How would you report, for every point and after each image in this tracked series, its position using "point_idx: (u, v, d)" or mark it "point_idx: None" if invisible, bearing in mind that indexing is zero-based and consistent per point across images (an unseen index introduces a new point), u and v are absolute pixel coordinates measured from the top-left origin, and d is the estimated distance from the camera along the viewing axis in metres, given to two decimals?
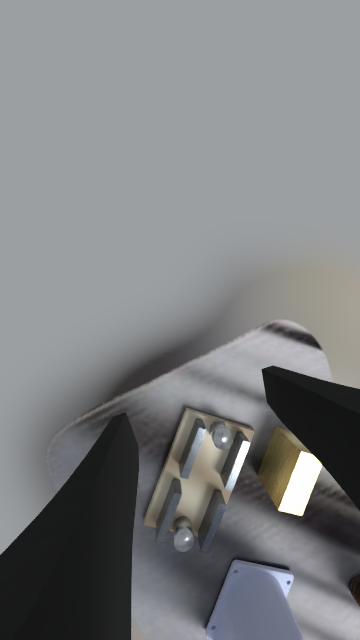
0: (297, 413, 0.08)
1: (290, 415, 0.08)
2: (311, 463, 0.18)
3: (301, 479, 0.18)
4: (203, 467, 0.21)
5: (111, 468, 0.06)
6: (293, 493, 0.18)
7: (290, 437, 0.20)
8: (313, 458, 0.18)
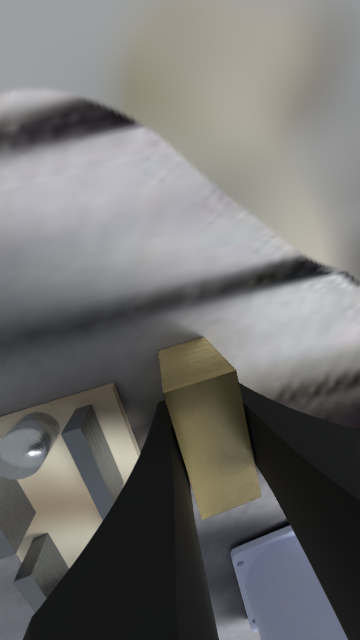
0: None
1: None
2: (210, 400, 0.07)
3: (210, 443, 0.07)
4: (69, 494, 0.10)
5: (175, 446, 0.07)
6: (212, 476, 0.07)
7: (173, 359, 0.09)
8: (206, 387, 0.07)
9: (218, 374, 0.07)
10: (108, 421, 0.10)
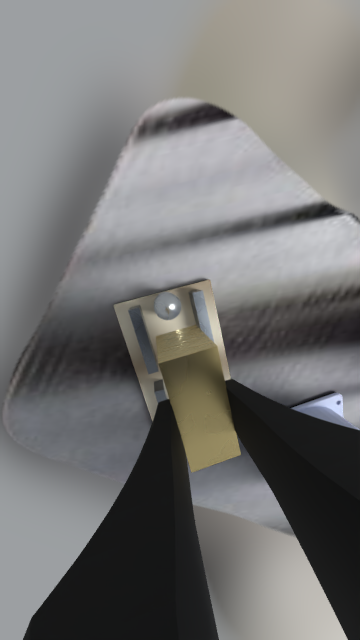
0: (247, 431, 0.08)
1: (243, 432, 0.08)
2: (196, 370, 0.08)
3: (197, 407, 0.09)
4: None
5: (174, 446, 0.07)
6: (199, 435, 0.09)
7: (168, 341, 0.10)
8: (193, 360, 0.08)
9: (203, 349, 0.08)
10: (205, 302, 0.16)
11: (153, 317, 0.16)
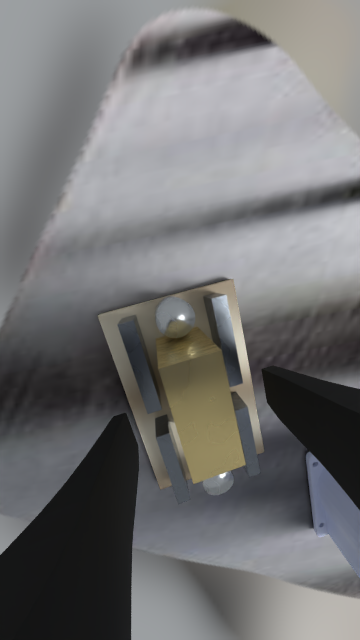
0: (297, 413, 0.08)
1: (290, 415, 0.08)
2: (199, 376, 0.08)
3: (199, 414, 0.08)
4: None
5: (111, 468, 0.06)
6: (201, 445, 0.08)
7: (169, 344, 0.10)
8: (196, 365, 0.08)
9: (206, 353, 0.08)
10: None
11: (154, 331, 0.11)
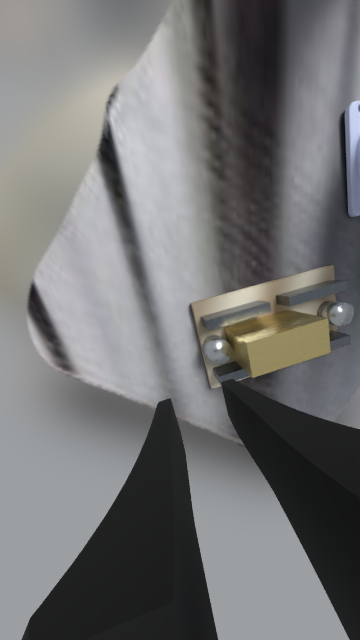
0: (247, 430, 0.08)
1: (243, 431, 0.08)
2: (260, 354, 0.13)
3: (284, 352, 0.13)
4: None
5: (174, 446, 0.07)
6: (305, 349, 0.13)
7: (236, 356, 0.15)
8: (253, 357, 0.13)
9: (247, 351, 0.13)
10: (214, 307, 0.16)
11: None
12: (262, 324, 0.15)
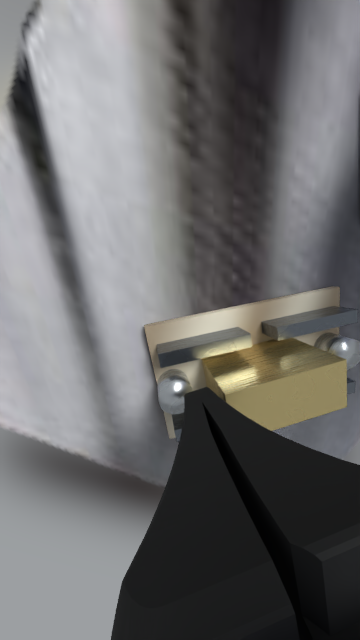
0: (216, 441, 0.08)
1: None
2: (246, 411, 0.09)
3: (282, 407, 0.09)
4: None
5: None
6: (311, 403, 0.09)
7: None
8: None
9: None
10: (175, 333, 0.12)
11: None
12: (252, 358, 0.11)
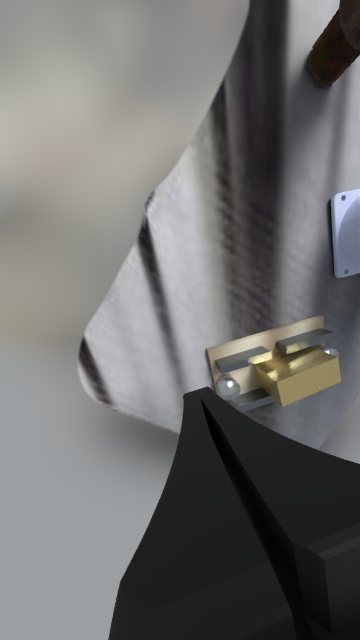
0: (217, 441, 0.08)
1: (215, 441, 0.08)
2: (287, 389, 0.17)
3: (306, 385, 0.17)
4: None
5: None
6: (321, 381, 0.17)
7: (265, 386, 0.19)
8: (282, 391, 0.17)
9: (277, 387, 0.17)
10: (225, 352, 0.20)
11: None
12: (285, 360, 0.19)
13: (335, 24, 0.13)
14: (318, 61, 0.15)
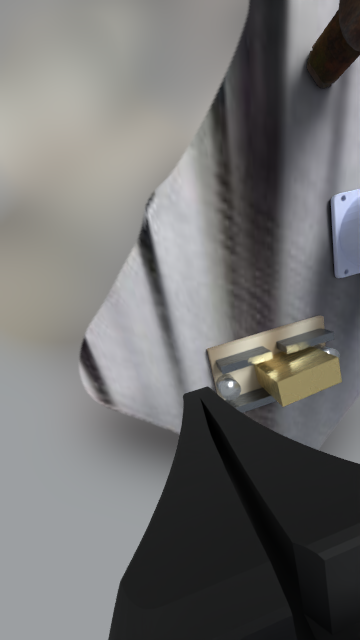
0: (217, 441, 0.08)
1: (215, 441, 0.08)
2: (288, 389, 0.17)
3: (306, 385, 0.17)
4: None
5: None
6: (321, 381, 0.17)
7: (266, 386, 0.19)
8: (283, 391, 0.17)
9: (278, 388, 0.17)
10: (226, 352, 0.20)
11: None
12: (285, 360, 0.19)
13: (335, 25, 0.14)
14: (318, 62, 0.15)
